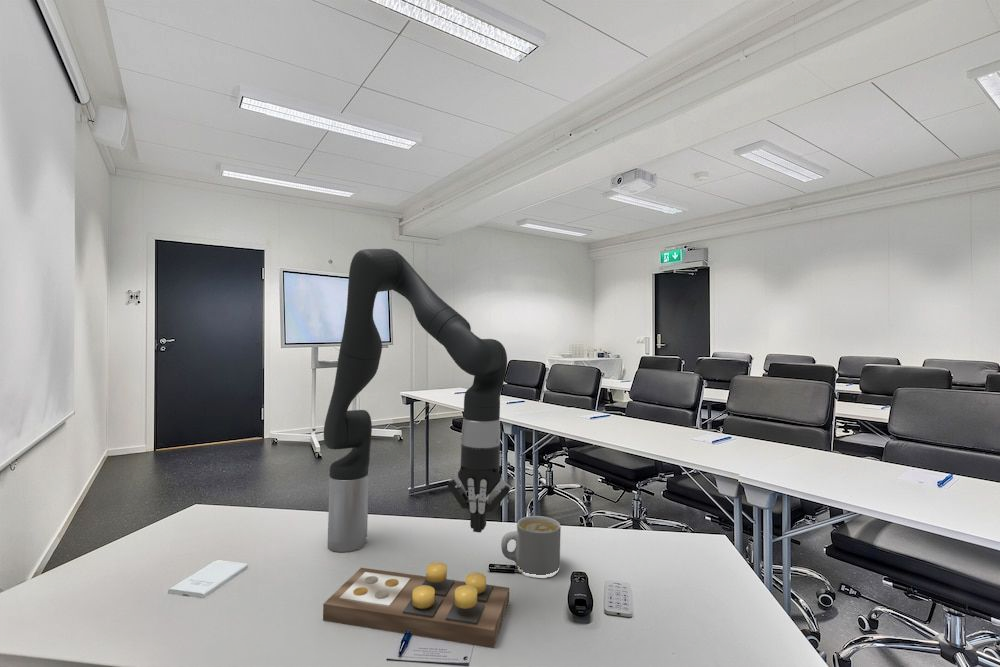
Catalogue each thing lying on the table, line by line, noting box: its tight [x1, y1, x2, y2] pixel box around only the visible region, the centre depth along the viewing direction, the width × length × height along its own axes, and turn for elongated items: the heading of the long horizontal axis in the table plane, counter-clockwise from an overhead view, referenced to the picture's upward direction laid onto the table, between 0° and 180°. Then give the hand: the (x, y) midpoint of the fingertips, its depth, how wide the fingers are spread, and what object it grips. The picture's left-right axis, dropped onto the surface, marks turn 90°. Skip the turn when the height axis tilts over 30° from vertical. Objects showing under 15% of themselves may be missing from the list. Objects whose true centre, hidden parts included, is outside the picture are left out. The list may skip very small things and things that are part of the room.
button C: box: [464, 572, 487, 594], centre depth 91 cm, size 4×4×2 cm
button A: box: [425, 561, 448, 582], centre depth 93 cm, size 4×4×2 cm
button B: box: [412, 585, 435, 608], centre depth 86 cm, size 4×4×2 cm
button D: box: [455, 585, 477, 609], centre depth 85 cm, size 4×4×2 cm
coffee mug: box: [500, 515, 562, 575], centre depth 108 cm, size 13×10×10 cm
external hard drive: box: [167, 559, 249, 599], centre depth 99 cm, size 2×8×12 cm
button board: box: [322, 567, 510, 649], centre depth 90 cm, size 14×32×4 cm, turn 78°
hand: (477, 530), depth 92 cm, fingers closed
